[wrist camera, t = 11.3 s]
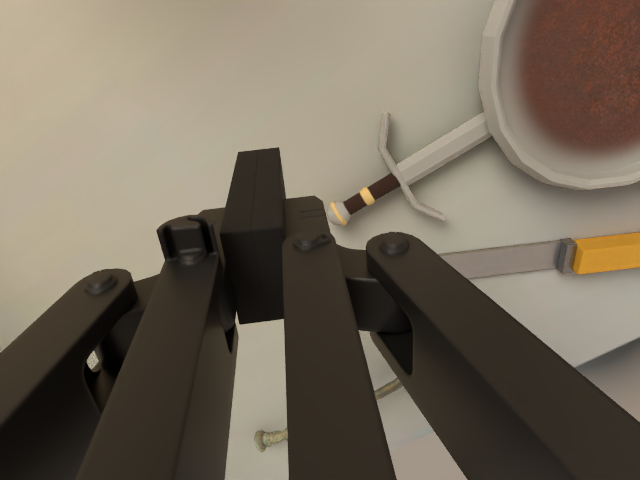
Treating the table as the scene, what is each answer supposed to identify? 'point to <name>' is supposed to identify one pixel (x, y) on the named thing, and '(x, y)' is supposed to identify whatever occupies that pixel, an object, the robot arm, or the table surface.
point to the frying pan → (542, 101)
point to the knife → (551, 256)
